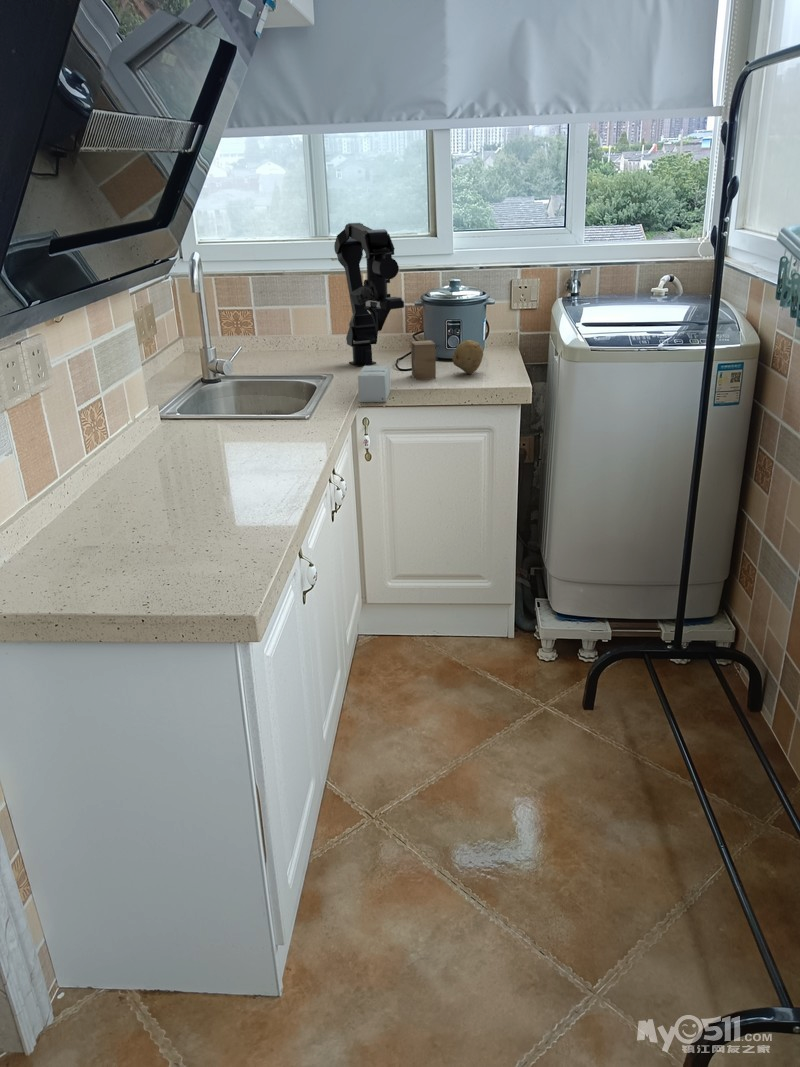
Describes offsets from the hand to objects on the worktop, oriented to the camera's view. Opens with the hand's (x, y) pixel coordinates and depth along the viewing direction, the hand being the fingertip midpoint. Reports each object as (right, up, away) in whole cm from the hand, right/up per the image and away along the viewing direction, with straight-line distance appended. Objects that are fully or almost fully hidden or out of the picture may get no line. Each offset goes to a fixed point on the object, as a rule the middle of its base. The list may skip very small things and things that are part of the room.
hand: (379, 330), depth 247 cm
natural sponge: (+26, -12, +3) cm, 29 cm away
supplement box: (0, -17, -15) cm, 23 cm away
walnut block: (+13, -13, +1) cm, 19 cm away
